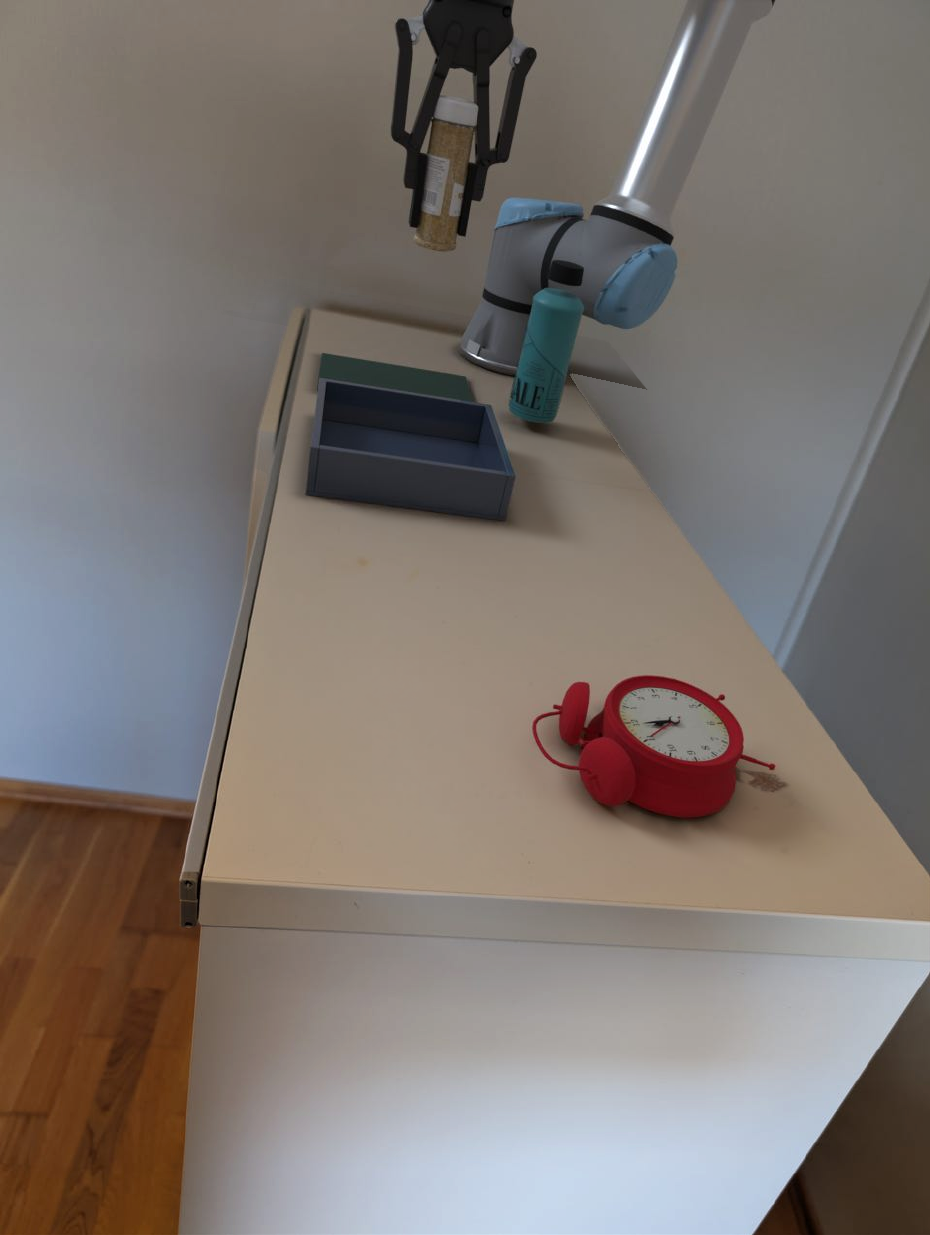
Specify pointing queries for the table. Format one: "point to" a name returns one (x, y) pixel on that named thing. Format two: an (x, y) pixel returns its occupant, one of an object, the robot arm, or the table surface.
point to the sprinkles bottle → (446, 173)
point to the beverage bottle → (547, 346)
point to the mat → (394, 377)
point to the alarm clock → (654, 745)
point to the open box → (408, 451)
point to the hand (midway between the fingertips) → (436, 228)
